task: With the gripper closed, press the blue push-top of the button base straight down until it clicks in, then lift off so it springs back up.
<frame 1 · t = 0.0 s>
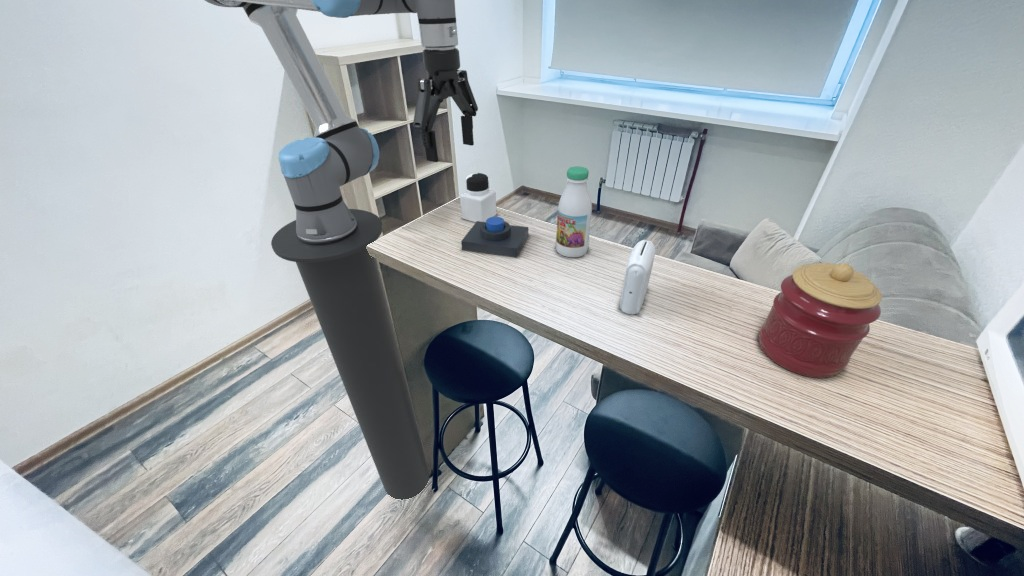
hand: (451, 152, 96), 21 cm above the table, tool pointing down, fingers open, 13 cm apart
push top: (495, 224, 99), point 5 cm above the table, slide at 0.1 cm
medicine bottle: (479, 217, 114), on the table
photo printer: (633, 300, 82), on the table
milk bottle: (571, 250, 99), on the table
button base: (496, 242, 102), on the table
kitchen canister: (798, 351, 70), on the table
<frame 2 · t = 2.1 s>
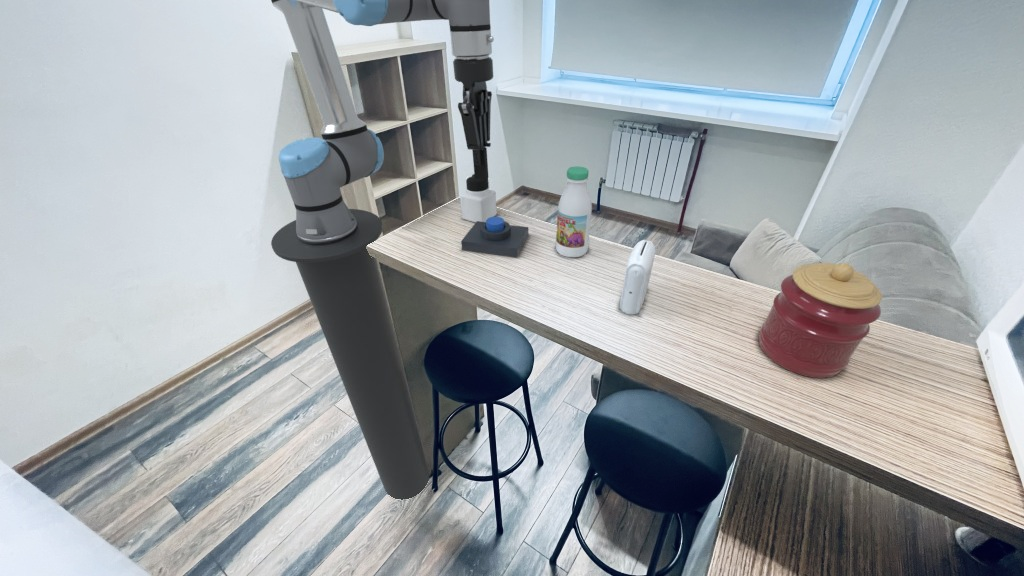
hand: (481, 177, 91), 18 cm above the table, tool pointing down, fingers closed
nothing on the table moved.
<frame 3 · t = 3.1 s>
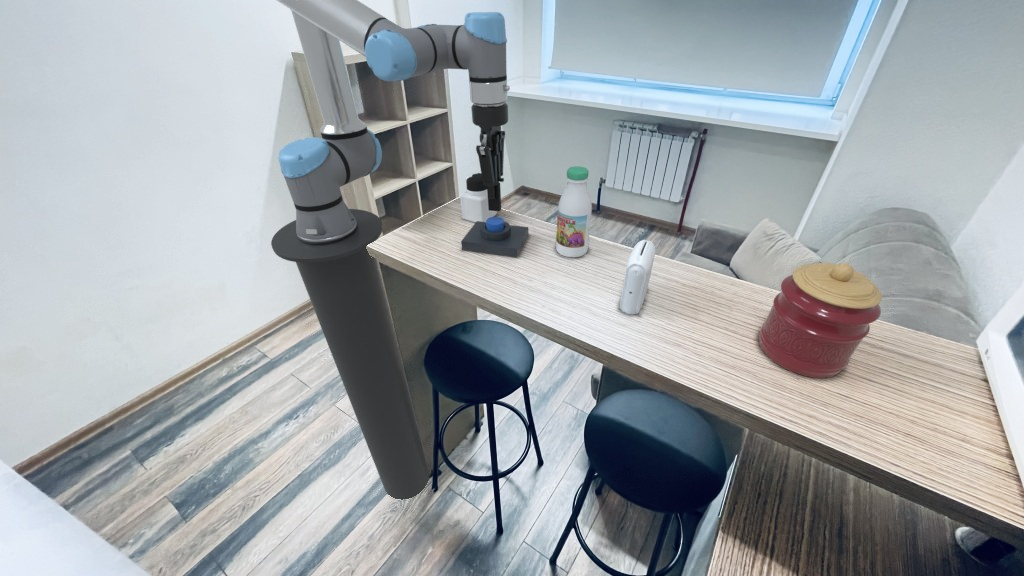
hand: (494, 209, 97), 9 cm above the table, tool pointing down, fingers closed
nothing on the table moved.
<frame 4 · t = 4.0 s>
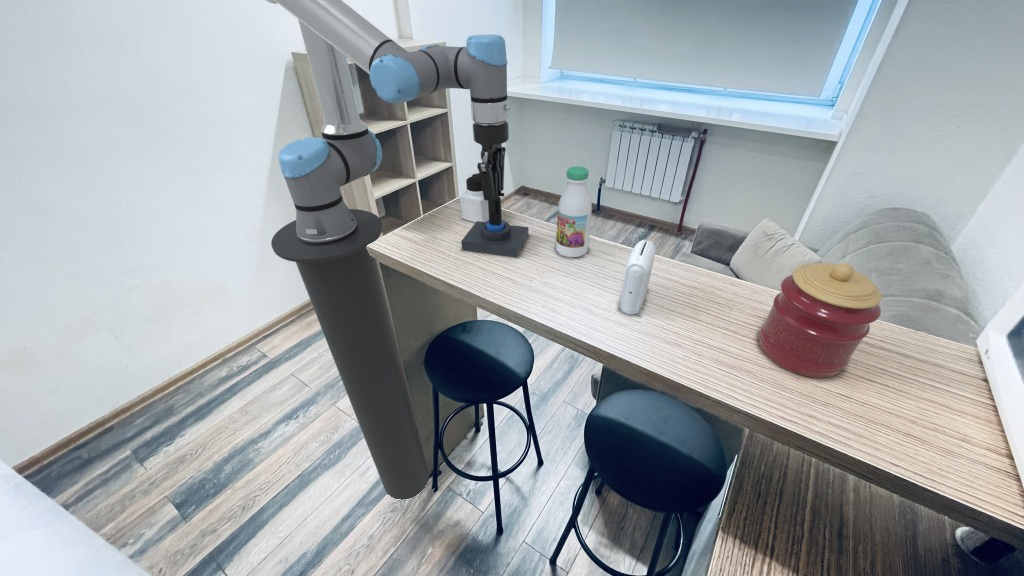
hand: (495, 223, 99), 6 cm above the table, tool pointing down, fingers closed
push top: (495, 227, 100), point 4 cm above the table, slide at -0.8 cm, touching gripper
everything else where it was.
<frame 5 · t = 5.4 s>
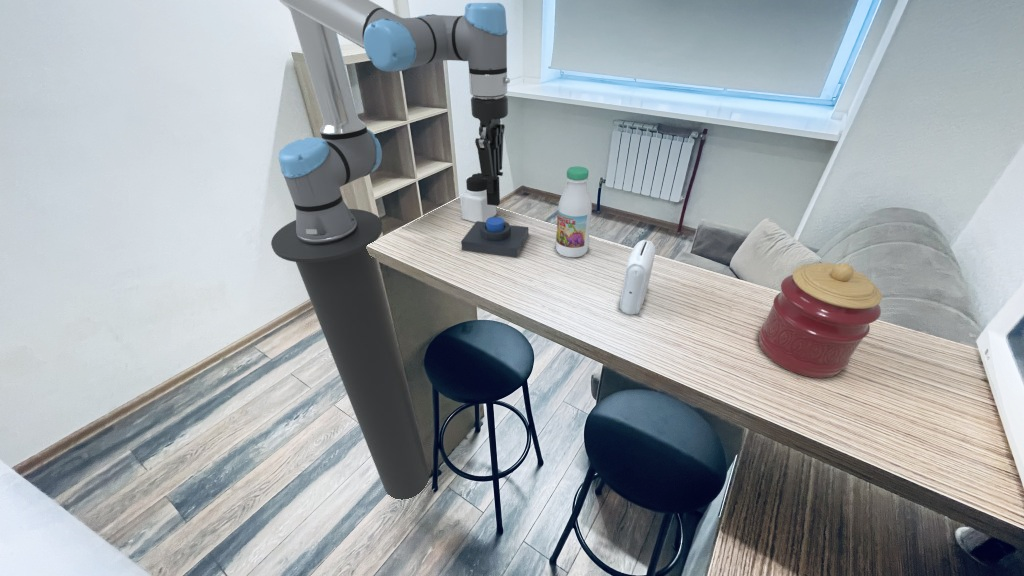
hand: (493, 203, 96), 11 cm above the table, tool pointing down, fingers closed
push top: (495, 224, 99), point 5 cm above the table, slide at 0.1 cm
everything else where it was.
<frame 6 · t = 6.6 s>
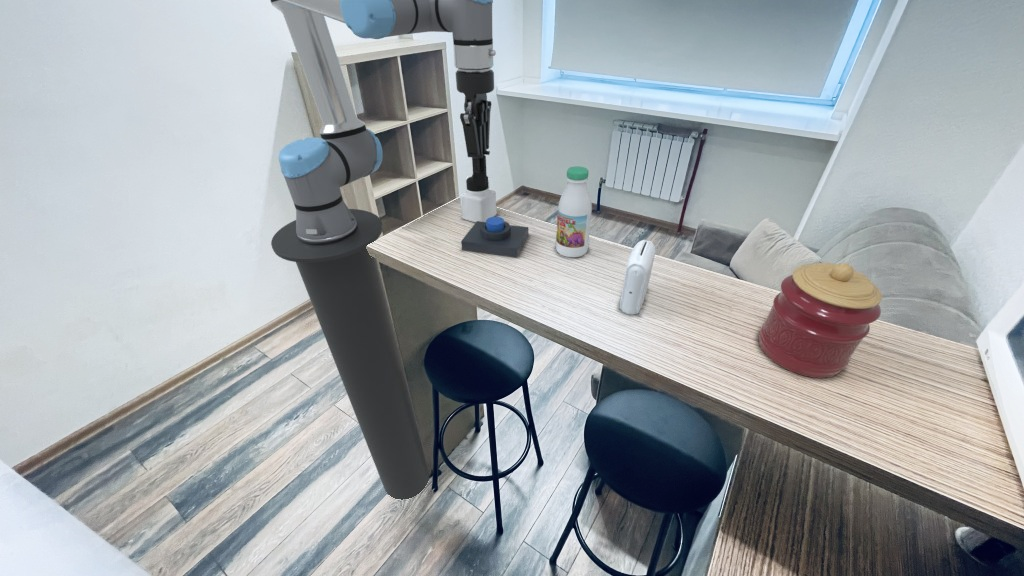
hand: (480, 184, 94), 15 cm above the table, tool pointing down, fingers closed
nothing on the table moved.
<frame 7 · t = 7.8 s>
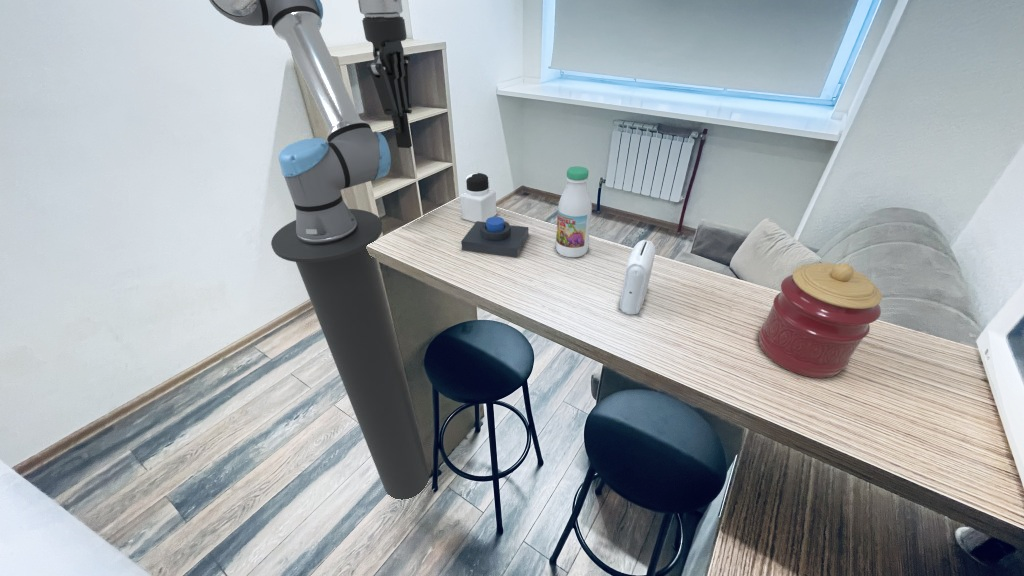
hand: (404, 146, 88), 24 cm above the table, tool pointing down, fingers closed
nothing on the table moved.
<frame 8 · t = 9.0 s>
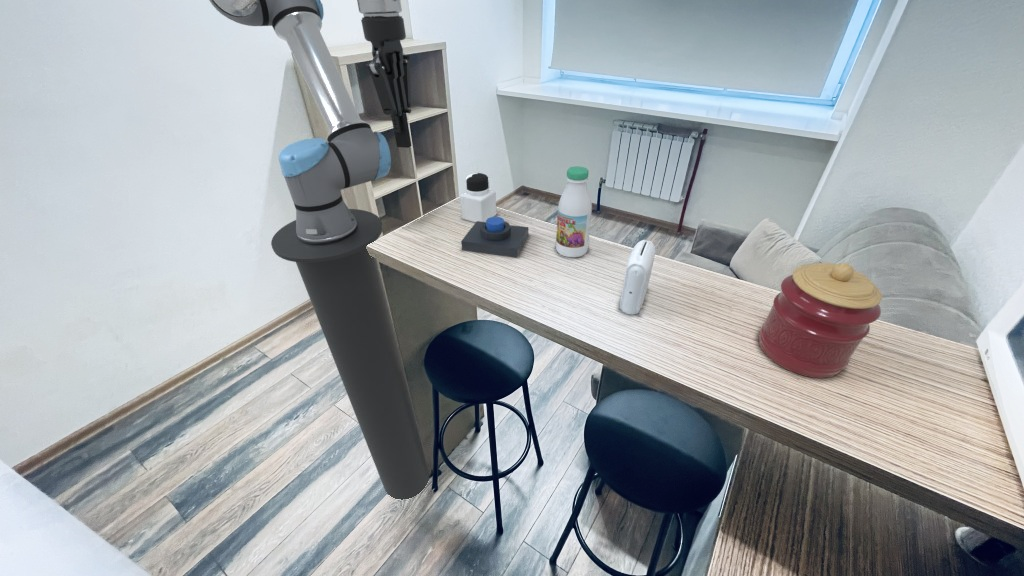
hand: (404, 146, 88), 24 cm above the table, tool pointing down, fingers closed
nothing on the table moved.
at the end: push top pushed in 1.2 cm at the most during the clip, back to where it started at the end; push top slide at 0.1 cm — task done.
